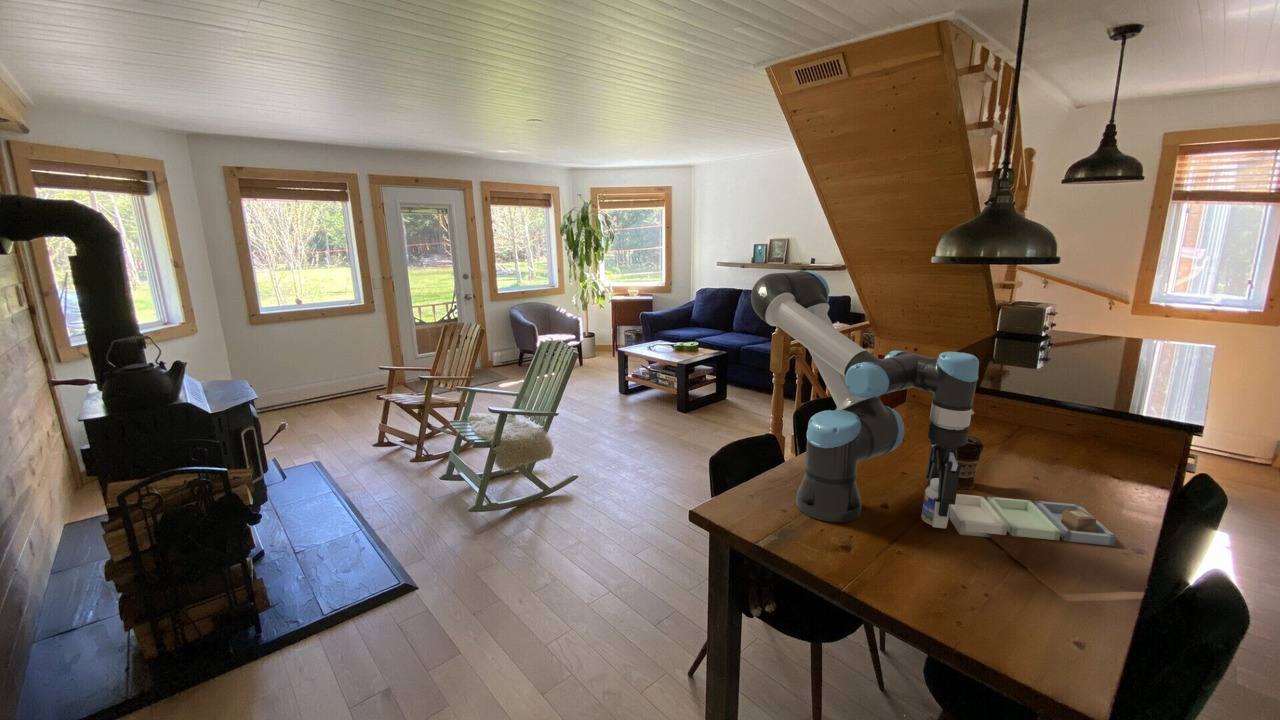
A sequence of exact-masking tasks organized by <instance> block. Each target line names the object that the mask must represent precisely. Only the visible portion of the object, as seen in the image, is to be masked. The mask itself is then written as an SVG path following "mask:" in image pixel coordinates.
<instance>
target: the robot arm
mask: <svg viewBox="0 0 1280 720" xmlns="http://www.w3.org/2000/svg"><path fill="white" fill-rule="evenodd" d="M830 293H831V292H830V287H829V284H828V283H827V281H826V280H825V278H824V277H823V276H822V275H821V274H819V273H817V272H814V271H808V270H797V271H794V272H793V271H792V272H778V273H777V272H774V273H773V272H772V273H768V274H766V275H764V276H763V275H762V277H761V278H759V279H758V280H757V281H756V282H755V284H754V285H753V287H752V290H751V294H750V302H751V306H752V310H754V312H755V314H756V315H757V316H758V317H759V318H760V319H761V320H762V321H764V322H765V323H766V324H768V325H769V326H771V327H778V328H780V329H781V331H783V332H784V333H786V334H787V335H789V336H790V337H792V339H794V340H796V341H797V342H798V343H799V344H800V345H802V346H803V347H804V348H806V349H807V350H808V352H809V354H810V356H811V358H812V359H813V362H814V364H815V366H816V368H817V370H818V372H819V374H820V376H821V378H822V380H823V382H824V383H825V386H826V387H827V389H828V391H829V393H830V395H831V397H832V399H833V401H834V403H835V405H836V408H835V409H834V410H831V409H828V410H827V409H826V410H822V411H819V412H817V413H815V414H814V415H812V416H811V417H810V419H809V420H808V424H807V430H806V447H805V471H804V476H803V478H802V480H801V482H800V484H799V487H798V489H797V492H796V494H795V495H796V497H795V504H796V507H797V508H798V510H799V511H800V512H802V513H804V515H806V516H808V517H811V518H813V519H816V520H819V521H824V522H829V523H847V522H852V521H854V520H856V519H858V518H859V517H860V515H861V514H862V507H863V505H862V504H863V503H862V499H861V495H860V491H859V487H858V484H857V471H858V470H857V469H858V463H860V462H861V463H862V462H865V461H867V460H871V459H873V458H876V457H881V456H884V455H887V454H889V453H890V452H893V451H895V450H896V449H897V448H898V447H900V445H901V444H902V443H903V438H904V436H905V425H904V421H903V419H902V417H901V415H900V414H899V413H898V411H896V410H895V409H894V408H891V407H890V406H887V405H884V404H883V402H882V400H881V398H880V396H883V395H886V394H890V393H894V392H899V391H903V390H906V389H917V390H920V391H924V392H928V393H932V401H931V407H930V413H929V414H930V415H929V419H930V421H929V424H928V429H927V430H928V432H927V436H928V437H927V438H928V439H929V453H928V458H927V459H928V460H927V464H926V465H927V466H926V472H925V473H926V474H925V478H926V480H927V482H926V483H927V488H928V487H930V482H931V479H933V478H939V486H938V499H937V498H934V501H935V508H934V515H933V521H932V525H931V526H932V528H938V529H947V527H948V524H947V521H948V515H949V508H950V504H952V505H955V500H956V494H958V493H957V492H958V488H957V487H958V480H959V473H960V470H961V467H962V464H961V462H956V461H957V459H958V452H957V448H958V447H960V446H964V445H966V444H967V441H968V436H969V433H970V428H969V427H970V425H971V419H972V416H973V415H975V411H974V410H973V409H974V408H973V407H974V399H975V396H976V395H975V394H976V389H977V383H978V380H979V368H980V361H979V359H978V357H976V355H974V354H972V353H968V352H967V353H966V352H958V351H944V352H940V353H939V355H938V358H937V357H936V358H935V357H930V356H926V355H921V354H917V353H913V352H910V351H908V350H907V351H906V350H905V351H902V350H891V351H890V352H888V353H887V354H886V355H884V358H880V357H879V358H878V357H877V356H875V355H874V354H872V353H871V352H870V351H868V350H866V349H865V348H863V347H862V346H860V345H859V344H858V343H856V342H855V341H853V340H852V339H850V338H848V337H847V336H846V335H845V334H843V333H842V332H841V331H839V330H837V329H836V328H835V326H834V324H833V322H832V320H831V319H830V316H829V315H828V313H829V310H830V305H829V301H830V296H829V294H830ZM948 522H949V521H948Z"/></svg>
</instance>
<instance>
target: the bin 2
mask: <svg viewBox="0 0 1280 720" xmlns="http://www.w3.org/2000/svg"><path fill="white" fill-rule="evenodd" d="M1034 505H1035V506H1036V507H1037V508H1038V509H1039V510H1040V511H1041V512H1042V513H1043V514H1044V515H1045V516H1046V517H1047V518H1048V519H1049V520H1050V521H1051V522H1052V523H1053V524H1054V525H1055V526H1056V527H1057V528H1058V529H1059V530H1060V531H1061V534H1060V538H1061V539H1062V540H1063V541H1064V542H1070V543H1071V542H1072V543H1081V544H1090V545H1091V544H1092V545H1099V546H1102V545H1103V546H1112V547H1115V546H1116V541H1117V536H1116V535H1115V534H1114V533H1112V532H1111V531H1110V530H1109V529H1108V528H1107V527H1106V526H1104V525H1103V524H1102V523H1101V522H1100V521H1099V520H1098V519H1097V520H1096V525H1095V530H1094V533H1091V532H1080V531H1070V530H1068V529H1067V528H1066V527H1065V526H1064V525H1063V524H1062V523H1061V520H1062V514H1063V510H1075V509H1081V510H1083V511H1085V512H1086V513H1088V514H1090V515H1091V516H1093V515H1092V514H1091V513H1090V512H1088V511H1087V510H1086V509H1085V508H1084V507H1083V506H1081V505H1080V504H1076V503H1067V502H1066V503H1065V502H1054V501H1053V502H1052V501H1042V500H1035V501H1034Z"/></svg>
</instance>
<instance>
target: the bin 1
mask: <svg viewBox="0 0 1280 720" xmlns="http://www.w3.org/2000/svg"><path fill="white" fill-rule="evenodd" d="M949 520H950V521H951V523H952V524H953V527H954V528H955V529H956V531H957V533H958V535H961V536H972V537H980V538H992V536H990V535H1001V536H1007V532H1008V531H1007V525H1006V524H1005V523H1004V522H1003V521H1002V519H1001V518H1000V517H999V516H998V514H997V513H996V512H995V511H994V509H993V508H992V507H991V506H990V504H989V503H988V502H987V499H986V498H985V497H984V496H983V495H970V494H960V493H956V500H955V505H952V504H951V509H950V515H949Z"/></svg>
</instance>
